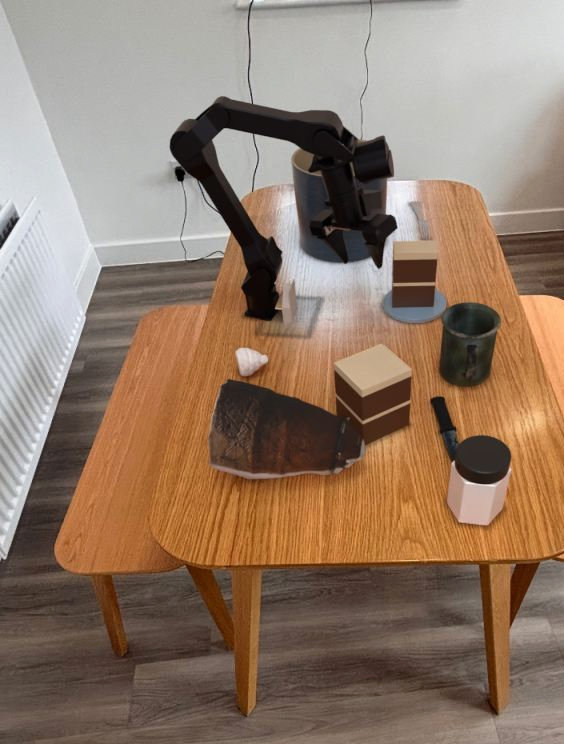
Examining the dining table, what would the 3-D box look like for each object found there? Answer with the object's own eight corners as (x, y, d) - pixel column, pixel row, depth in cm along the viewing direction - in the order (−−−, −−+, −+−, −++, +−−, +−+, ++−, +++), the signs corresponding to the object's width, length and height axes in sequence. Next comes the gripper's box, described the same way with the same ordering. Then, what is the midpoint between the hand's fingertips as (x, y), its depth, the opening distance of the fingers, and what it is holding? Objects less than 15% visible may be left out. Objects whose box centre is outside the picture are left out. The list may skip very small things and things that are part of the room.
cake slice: (392, 307, 140) (393, 253, 130) (391, 295, 143) (392, 241, 133) (433, 307, 139) (438, 252, 130) (432, 294, 143) (436, 240, 133)
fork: (418, 211, 176) (418, 200, 174) (431, 239, 161) (432, 227, 159) (408, 212, 176) (408, 201, 174) (420, 239, 161) (421, 228, 159)
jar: (468, 479, 107) (476, 425, 98) (510, 501, 104) (523, 448, 95) (437, 510, 103) (443, 457, 94) (480, 535, 100) (490, 483, 90)
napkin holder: (276, 323, 139) (272, 292, 134) (283, 305, 144) (279, 275, 138) (292, 324, 139) (288, 293, 133) (298, 306, 143) (295, 276, 138)
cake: (336, 418, 118) (333, 362, 109) (381, 398, 122) (382, 342, 112) (363, 446, 113) (361, 390, 104) (409, 425, 117) (412, 369, 107)
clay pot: (370, 444, 96) (206, 410, 95) (352, 516, 107) (204, 486, 106) (377, 392, 107) (231, 360, 106) (360, 462, 118) (227, 434, 117)
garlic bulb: (272, 376, 127) (269, 353, 123) (242, 382, 126) (238, 359, 122) (266, 360, 130) (262, 337, 126) (237, 366, 129) (233, 343, 125)
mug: (489, 354, 130) (497, 301, 120) (496, 401, 120) (506, 347, 111) (435, 354, 130) (439, 301, 121) (438, 401, 121) (444, 347, 111)
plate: (374, 316, 140) (374, 312, 139) (394, 284, 148) (394, 280, 147) (436, 328, 136) (436, 324, 135) (453, 294, 144) (454, 290, 144)
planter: (290, 228, 167) (282, 145, 151) (371, 215, 170) (371, 132, 155) (310, 270, 153) (303, 183, 138) (398, 255, 156) (401, 168, 141)
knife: (429, 397, 119) (445, 395, 120) (429, 403, 121) (444, 400, 121) (456, 476, 106) (473, 473, 106) (455, 482, 107) (473, 479, 107)
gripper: (405, 169, 118) (422, 248, 129) (332, 167, 129) (353, 240, 140) (368, 199, 113) (389, 279, 125) (296, 194, 124) (321, 268, 135)
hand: (363, 265), depth 131 cm, fingers open, 9 cm apart
